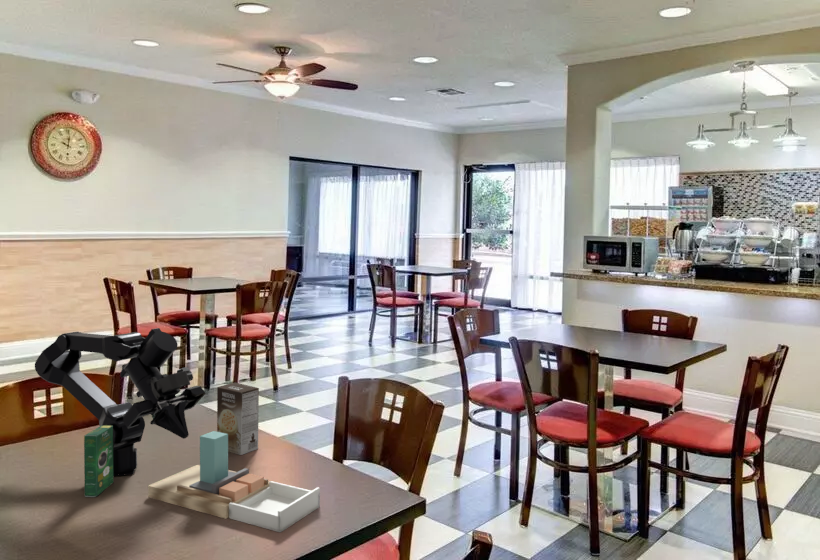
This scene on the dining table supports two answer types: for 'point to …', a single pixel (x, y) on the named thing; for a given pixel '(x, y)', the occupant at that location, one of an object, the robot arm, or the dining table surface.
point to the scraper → (215, 463)
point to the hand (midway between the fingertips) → (186, 437)
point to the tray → (276, 506)
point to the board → (193, 493)
